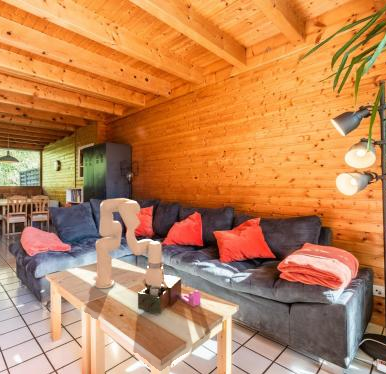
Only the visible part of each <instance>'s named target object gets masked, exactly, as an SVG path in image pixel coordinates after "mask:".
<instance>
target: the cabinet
mask: <svg viewBox="0 0 386 374" xmlns="http://www.w3.org/2000/svg"><path fill="white" fill-rule="evenodd" d="M164 275H165V282H166V284H167V285H168V287H167V288H168V289H170V303H169V304H168V305H167V306H168V307H172V306H173V305H174V304H175V303H176V302H177V301H178V299H180V295H181V294H182V277H179V276H173V275H167V274H164ZM162 287H164V285H162Z"/></svg>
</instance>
